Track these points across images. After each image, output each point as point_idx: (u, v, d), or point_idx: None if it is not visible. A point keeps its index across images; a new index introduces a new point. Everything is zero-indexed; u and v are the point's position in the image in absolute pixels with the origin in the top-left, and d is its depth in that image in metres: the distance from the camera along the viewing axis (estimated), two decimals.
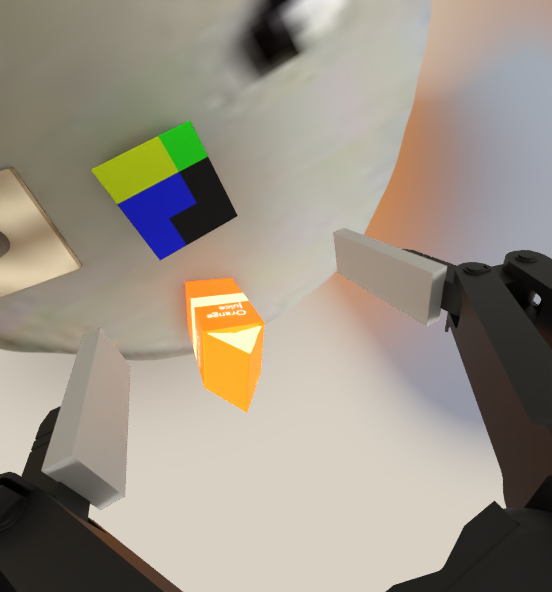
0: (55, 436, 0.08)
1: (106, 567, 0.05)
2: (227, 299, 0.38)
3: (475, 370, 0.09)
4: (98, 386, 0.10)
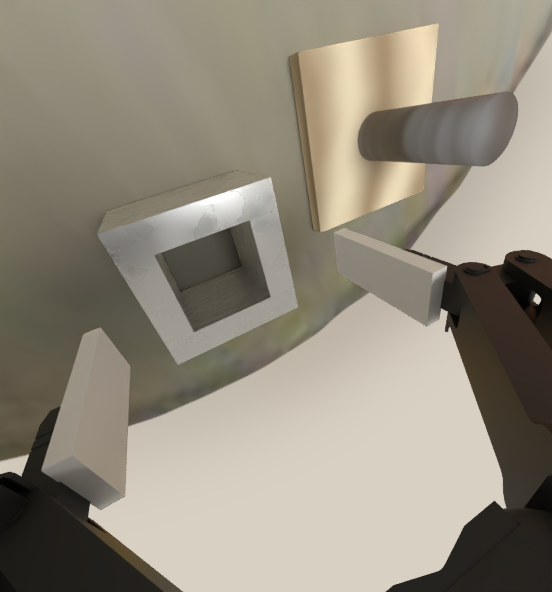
0: (55, 436, 0.08)
1: (106, 567, 0.05)
2: None
3: (475, 370, 0.09)
4: (98, 386, 0.10)
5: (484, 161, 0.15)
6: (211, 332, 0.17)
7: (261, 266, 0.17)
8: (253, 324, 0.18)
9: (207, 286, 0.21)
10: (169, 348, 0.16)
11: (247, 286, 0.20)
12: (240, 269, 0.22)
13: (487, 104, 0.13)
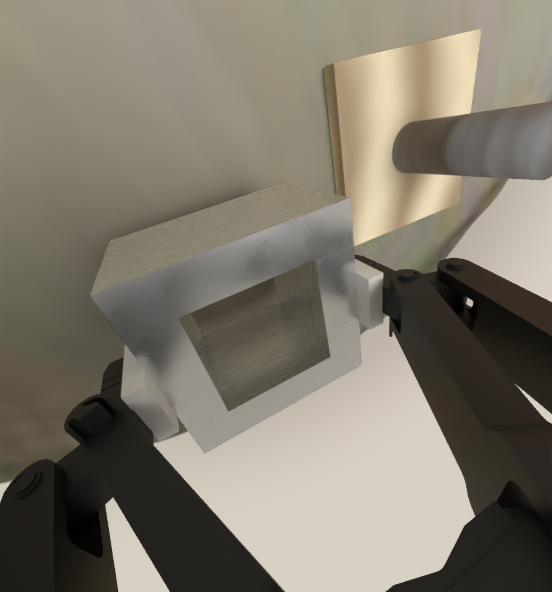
0: (125, 375, 0.09)
1: (172, 485, 0.06)
2: None
3: (423, 375, 0.09)
4: None
5: (544, 174, 0.14)
6: (251, 409, 0.12)
7: (322, 318, 0.12)
8: (304, 392, 0.14)
9: (238, 332, 0.16)
10: (194, 435, 0.12)
11: (293, 335, 0.15)
12: (278, 307, 0.18)
13: (551, 113, 0.12)
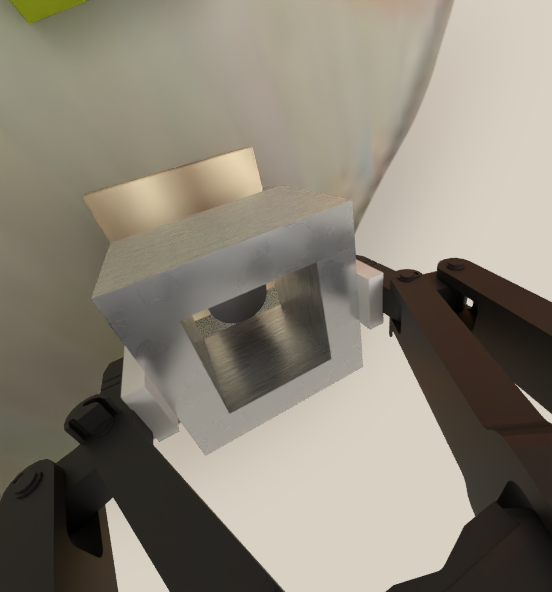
0: (125, 375, 0.09)
1: (172, 485, 0.06)
2: None
3: (423, 374, 0.09)
4: None
5: (238, 318, 0.15)
6: (252, 411, 0.12)
7: (323, 320, 0.12)
8: (305, 394, 0.14)
9: (238, 333, 0.16)
10: (195, 438, 0.12)
11: (294, 336, 0.15)
12: (279, 308, 0.18)
13: None
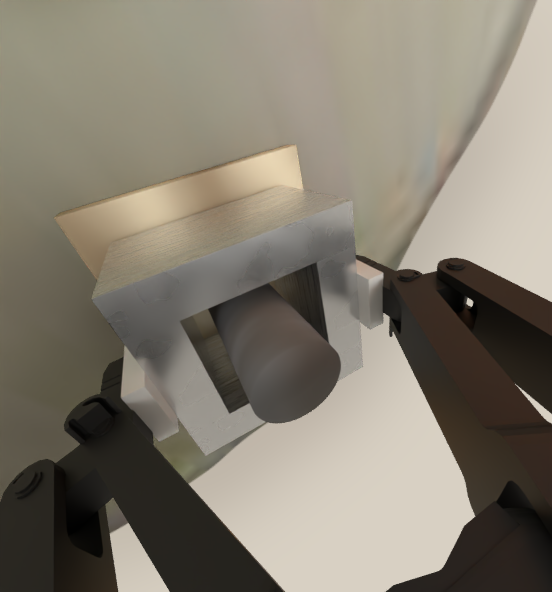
0: (125, 375, 0.09)
1: (172, 485, 0.06)
2: None
3: (423, 375, 0.09)
4: None
5: (296, 414, 0.10)
6: (252, 411, 0.12)
7: (323, 320, 0.12)
8: None
9: None
10: (195, 438, 0.12)
11: None
12: None
13: (262, 370, 0.08)
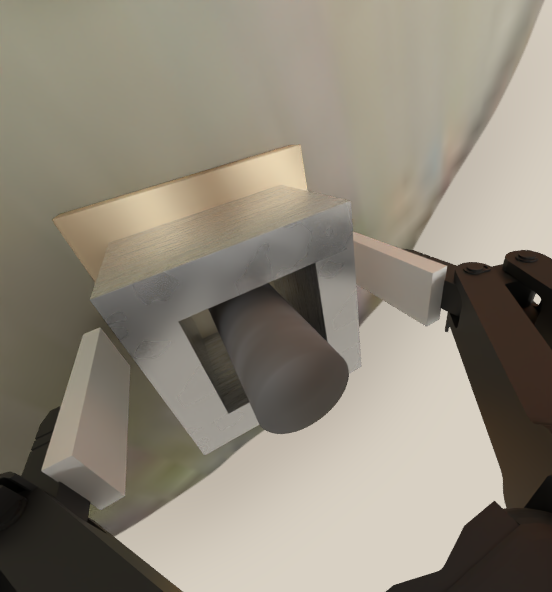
0: (55, 436, 0.08)
1: (106, 567, 0.05)
2: None
3: (475, 370, 0.09)
4: (99, 386, 0.10)
5: (302, 424, 0.09)
6: (251, 410, 0.12)
7: (322, 321, 0.12)
8: None
9: None
10: (194, 437, 0.12)
11: None
12: None
13: (267, 380, 0.08)
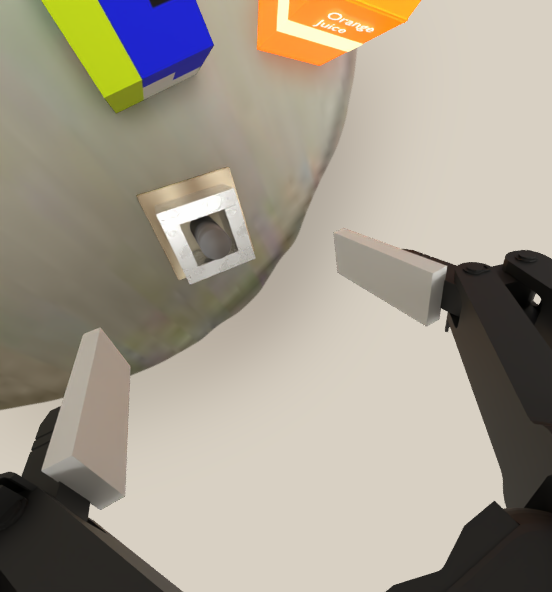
0: (55, 436, 0.08)
1: (106, 567, 0.05)
2: None
3: (475, 370, 0.09)
4: (99, 386, 0.10)
5: (217, 257, 0.30)
6: (207, 268, 0.33)
7: (232, 233, 0.33)
8: (229, 266, 0.34)
9: None
10: (185, 274, 0.33)
11: None
12: None
13: (203, 236, 0.29)
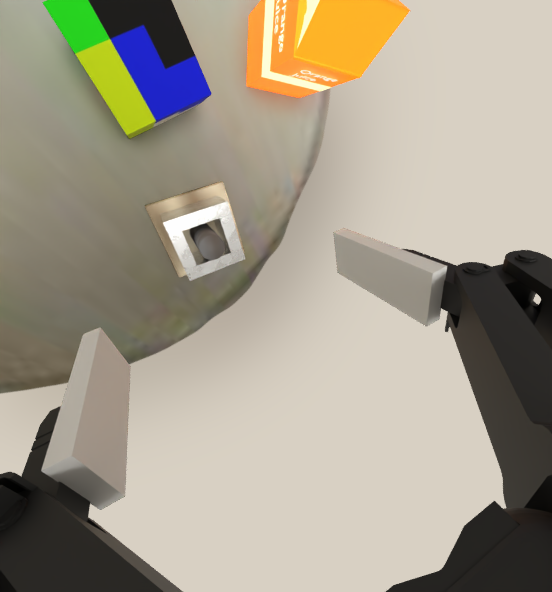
0: (55, 436, 0.08)
1: (106, 567, 0.05)
2: (269, 21, 0.30)
3: (475, 370, 0.09)
4: (98, 386, 0.10)
5: (213, 258, 0.37)
6: (204, 267, 0.40)
7: (226, 238, 0.39)
8: (223, 265, 0.41)
9: None
10: (186, 272, 0.39)
11: None
12: None
13: (201, 240, 0.35)
